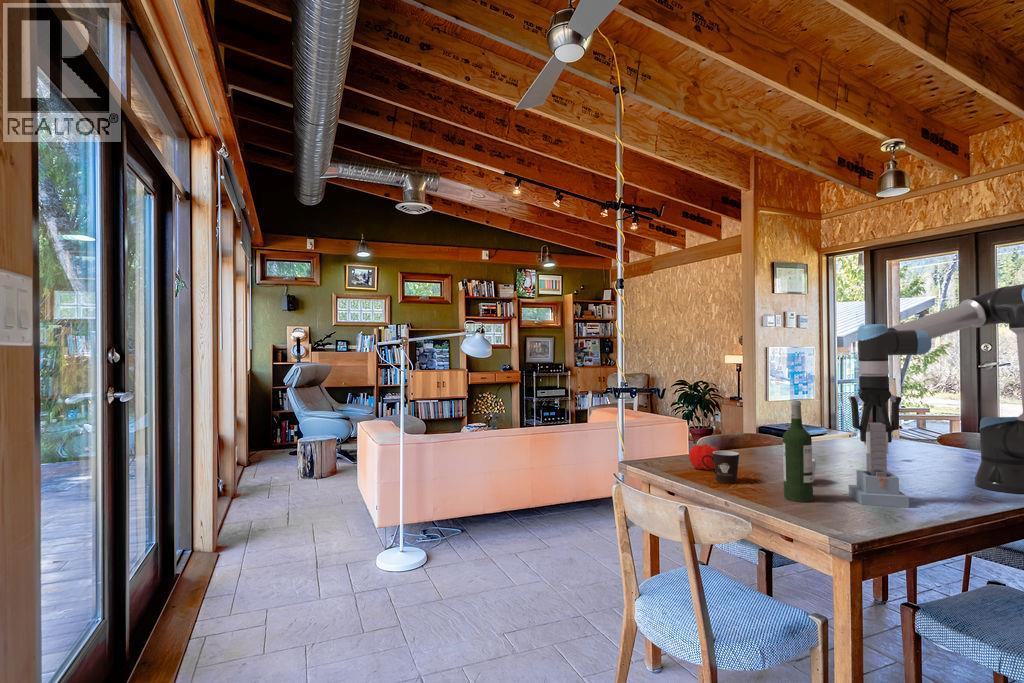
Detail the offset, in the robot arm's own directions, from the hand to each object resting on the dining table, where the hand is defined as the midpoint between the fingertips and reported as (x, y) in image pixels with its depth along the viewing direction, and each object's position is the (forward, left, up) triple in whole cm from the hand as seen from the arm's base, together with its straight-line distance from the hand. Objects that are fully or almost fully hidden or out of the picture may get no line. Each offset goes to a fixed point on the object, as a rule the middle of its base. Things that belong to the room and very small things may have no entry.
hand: (876, 452), depth 161 cm
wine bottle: (+22, +4, -15) cm, 27 cm away
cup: (+16, -18, -15) cm, 28 cm away
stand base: (0, 0, -14) cm, 14 cm away
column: (0, 0, -11) cm, 11 cm away
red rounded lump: (+47, -35, -15) cm, 60 cm away
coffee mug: (+42, -15, -14) cm, 47 cm away
